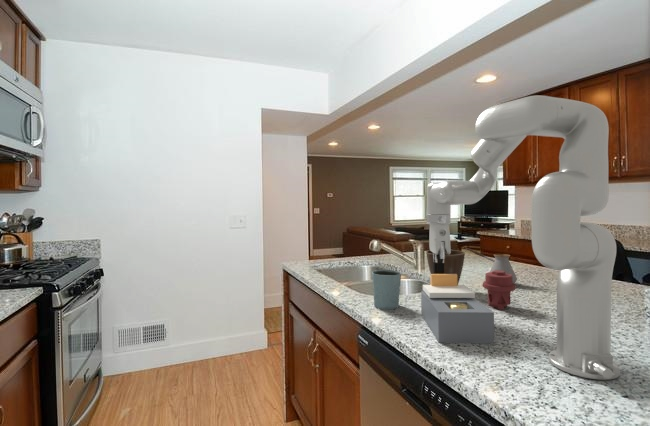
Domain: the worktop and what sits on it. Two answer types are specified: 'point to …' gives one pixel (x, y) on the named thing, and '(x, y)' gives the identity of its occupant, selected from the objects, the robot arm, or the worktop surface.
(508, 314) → the worktop surface
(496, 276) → the mechanical component
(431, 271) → the plant pot
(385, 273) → the blue-grey cup
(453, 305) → the peg
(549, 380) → the worktop surface
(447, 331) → the housing
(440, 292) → the lid
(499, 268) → the coffee pot
